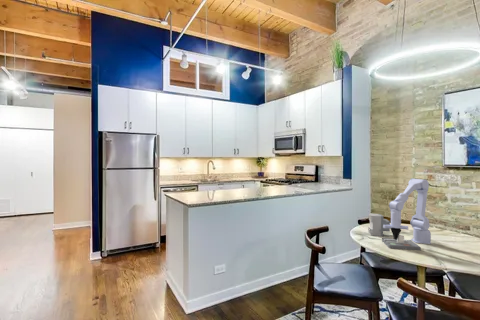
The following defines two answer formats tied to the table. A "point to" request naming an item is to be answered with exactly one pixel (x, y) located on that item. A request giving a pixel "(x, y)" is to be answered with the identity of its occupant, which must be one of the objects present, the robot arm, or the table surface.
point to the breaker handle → (400, 238)
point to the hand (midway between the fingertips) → (395, 239)
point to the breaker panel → (401, 244)
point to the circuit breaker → (377, 225)
